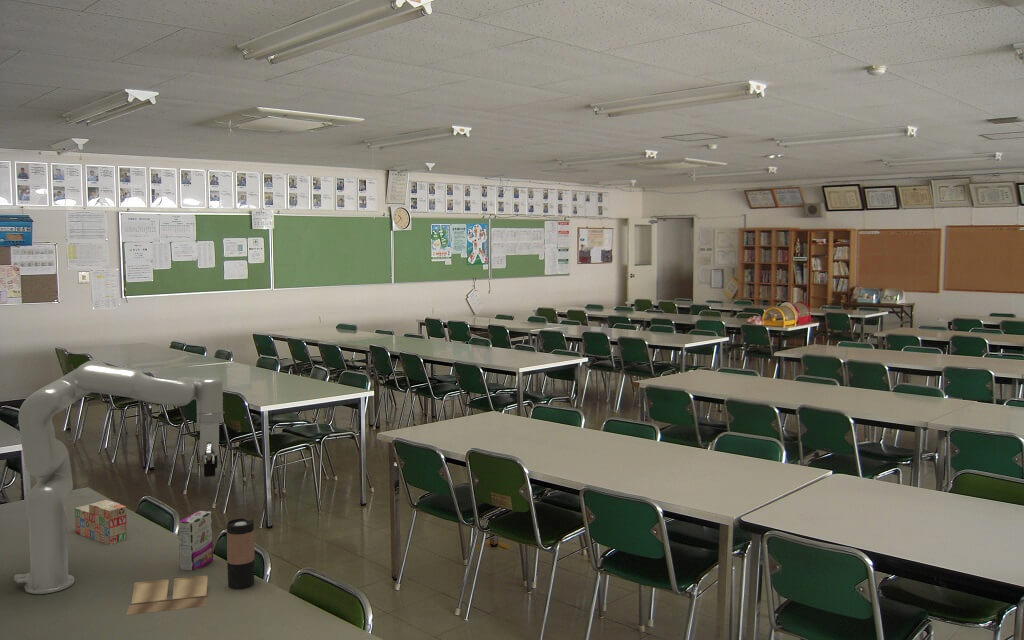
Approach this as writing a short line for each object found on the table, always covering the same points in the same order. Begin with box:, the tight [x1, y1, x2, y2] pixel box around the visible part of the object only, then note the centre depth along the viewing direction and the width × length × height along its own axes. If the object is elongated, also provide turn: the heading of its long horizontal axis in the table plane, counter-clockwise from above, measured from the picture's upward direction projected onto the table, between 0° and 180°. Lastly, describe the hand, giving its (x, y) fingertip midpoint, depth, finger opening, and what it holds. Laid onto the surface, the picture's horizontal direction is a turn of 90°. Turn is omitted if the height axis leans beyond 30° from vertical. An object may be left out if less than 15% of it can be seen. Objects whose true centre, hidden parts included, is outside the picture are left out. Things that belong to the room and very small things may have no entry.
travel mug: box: [226, 517, 256, 590], centre depth 231 cm, size 8×8×20 cm
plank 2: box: [172, 574, 209, 599], centre depth 225 cm, size 9×7×1 cm
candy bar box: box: [177, 510, 214, 571], centre depth 246 cm, size 11×5×16 cm, turn 168°
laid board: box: [125, 595, 208, 616], centre depth 217 cm, size 20×7×1 cm, turn 107°
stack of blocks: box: [74, 499, 128, 546], centre depth 273 cm, size 21×6×12 cm, turn 58°
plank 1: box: [130, 579, 170, 604], centre depth 222 cm, size 9×7×1 cm
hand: (210, 472), depth 242 cm, fingers open, 9 cm apart
